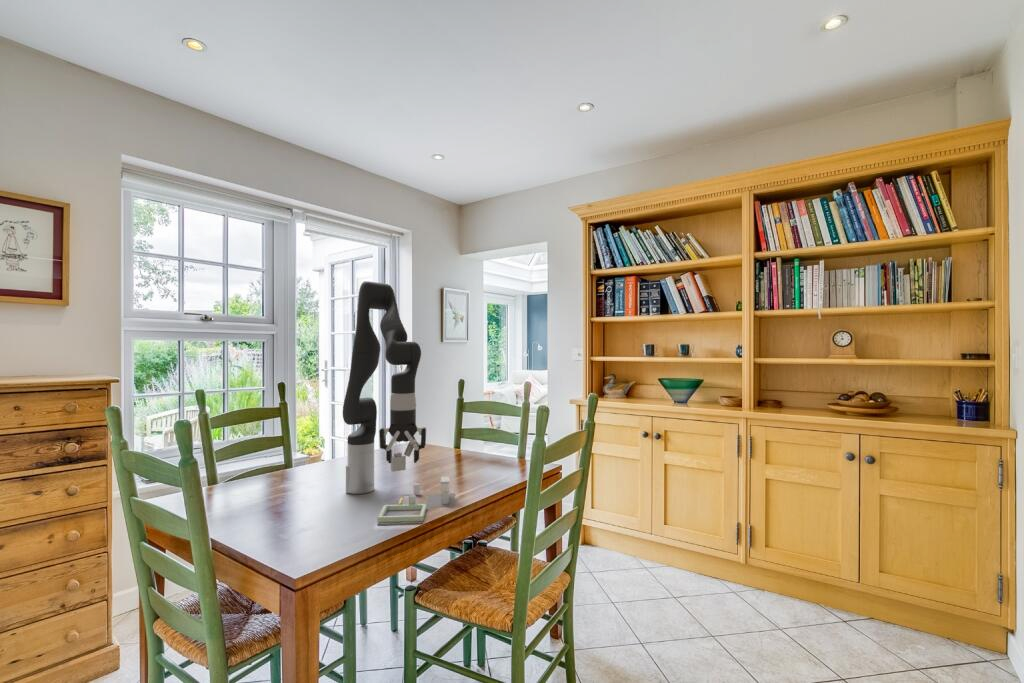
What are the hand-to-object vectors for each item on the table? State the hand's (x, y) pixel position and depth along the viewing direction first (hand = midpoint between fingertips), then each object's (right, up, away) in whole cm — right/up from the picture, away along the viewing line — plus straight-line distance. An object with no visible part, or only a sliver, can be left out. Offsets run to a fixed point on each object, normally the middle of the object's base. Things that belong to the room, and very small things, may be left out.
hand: (403, 462), depth 147 cm
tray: (0, -17, 0) cm, 17 cm away
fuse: (+11, -16, +14) cm, 24 cm away
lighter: (0, -2, 0) cm, 2 cm away
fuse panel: (+5, -17, +13) cm, 22 cm away
